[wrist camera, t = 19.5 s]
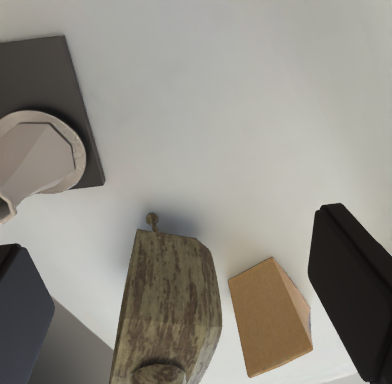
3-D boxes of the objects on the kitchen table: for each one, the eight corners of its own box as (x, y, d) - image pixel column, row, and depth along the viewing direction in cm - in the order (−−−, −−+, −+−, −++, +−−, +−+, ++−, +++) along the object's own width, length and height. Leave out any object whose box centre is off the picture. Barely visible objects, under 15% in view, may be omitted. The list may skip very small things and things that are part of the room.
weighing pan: (-26, 115, 30) (-28, 116, 29) (71, 104, 30) (70, 105, 29) (13, 196, 34) (12, 198, 34) (96, 186, 35) (95, 188, 34)
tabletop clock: (141, 201, 39) (110, 425, 18) (208, 212, 41) (252, 429, 20) (125, 279, 46) (88, 510, 25) (182, 286, 48) (195, 507, 27)
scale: (-101, 52, 29) (-127, 56, 26) (64, 33, 29) (54, 35, 27) (-22, 195, 37) (-36, 209, 35) (105, 180, 38) (101, 192, 35)
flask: (-14, 133, 30) (-87, 181, 22) (53, 111, 30) (6, 152, 21) (26, 192, 34) (-22, 254, 25) (87, 174, 33) (59, 231, 25)
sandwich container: (269, 328, 55) (299, 423, 42) (225, 281, 48) (246, 378, 35) (312, 307, 53) (357, 401, 40) (273, 255, 46) (314, 349, 33)
